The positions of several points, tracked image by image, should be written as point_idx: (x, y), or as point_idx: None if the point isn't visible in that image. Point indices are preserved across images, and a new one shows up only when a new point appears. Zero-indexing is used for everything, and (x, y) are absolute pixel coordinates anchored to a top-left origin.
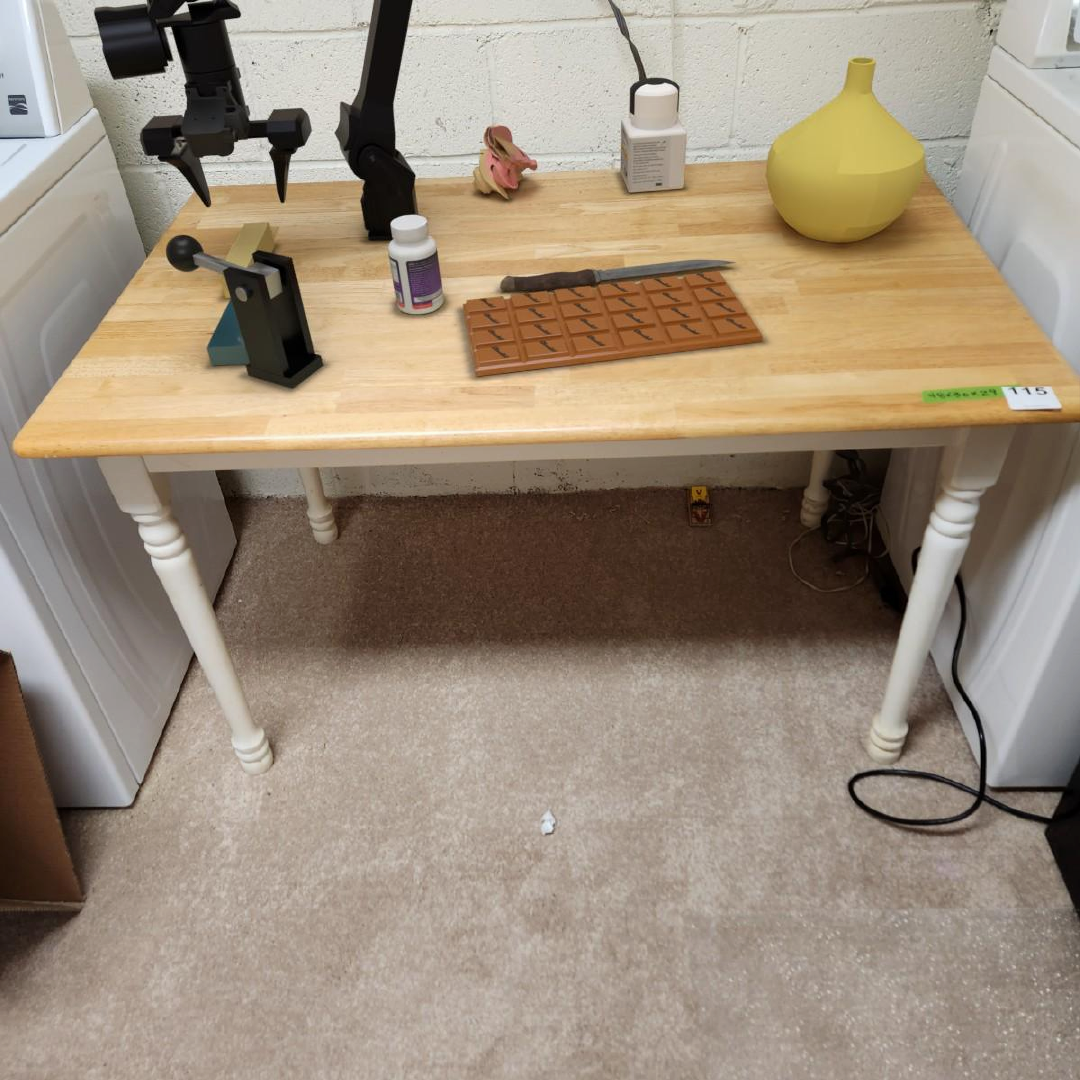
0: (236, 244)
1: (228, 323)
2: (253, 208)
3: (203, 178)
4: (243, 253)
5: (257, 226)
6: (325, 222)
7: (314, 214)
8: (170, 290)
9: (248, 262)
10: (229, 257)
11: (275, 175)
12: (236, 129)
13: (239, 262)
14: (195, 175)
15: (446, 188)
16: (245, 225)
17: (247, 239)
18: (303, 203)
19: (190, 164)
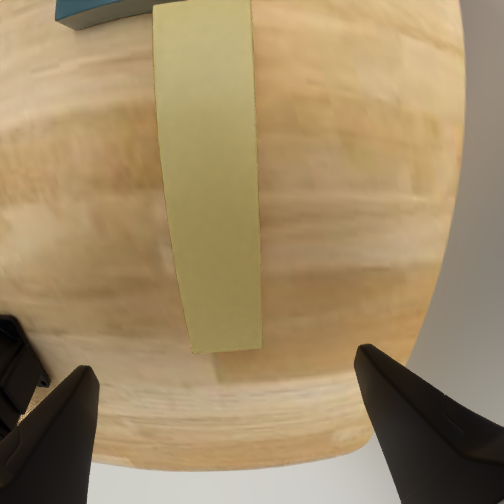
0: (246, 215)
1: None
2: (289, 426)
3: (387, 438)
4: (196, 138)
5: (216, 332)
6: (133, 391)
7: (169, 414)
8: (400, 92)
9: (155, 67)
10: (241, 108)
11: (37, 441)
12: None
13: (189, 66)
14: (429, 431)
15: None
16: (255, 337)
17: (217, 250)
18: (206, 439)
19: (457, 468)
